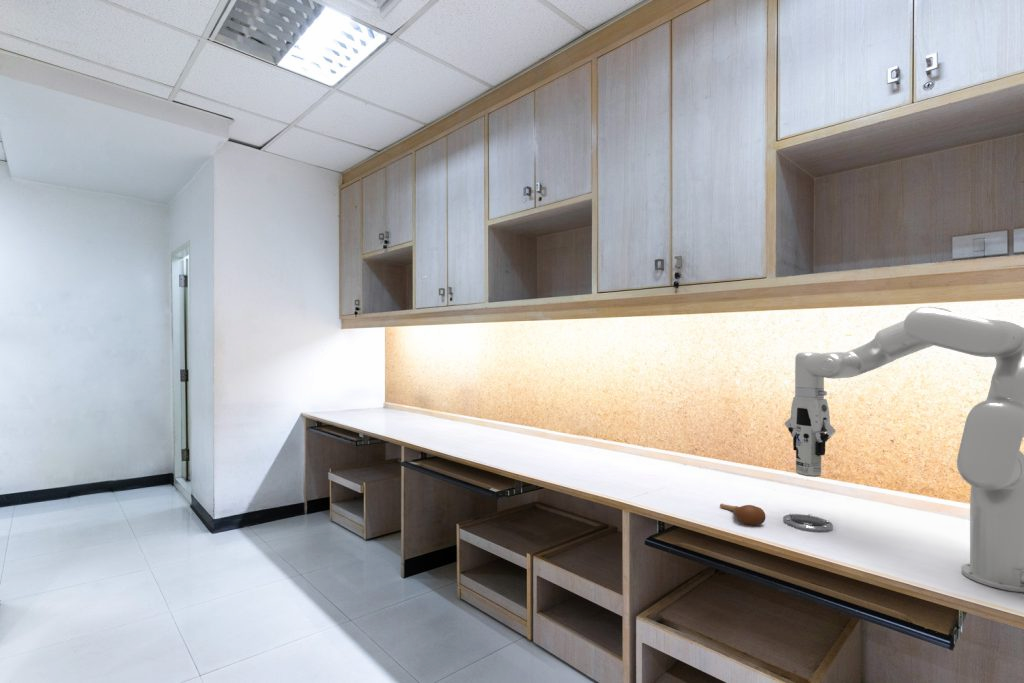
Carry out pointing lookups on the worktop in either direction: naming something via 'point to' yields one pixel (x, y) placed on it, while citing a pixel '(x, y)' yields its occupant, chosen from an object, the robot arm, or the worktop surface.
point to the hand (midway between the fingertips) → (808, 452)
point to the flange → (808, 523)
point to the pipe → (747, 514)
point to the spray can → (806, 446)
